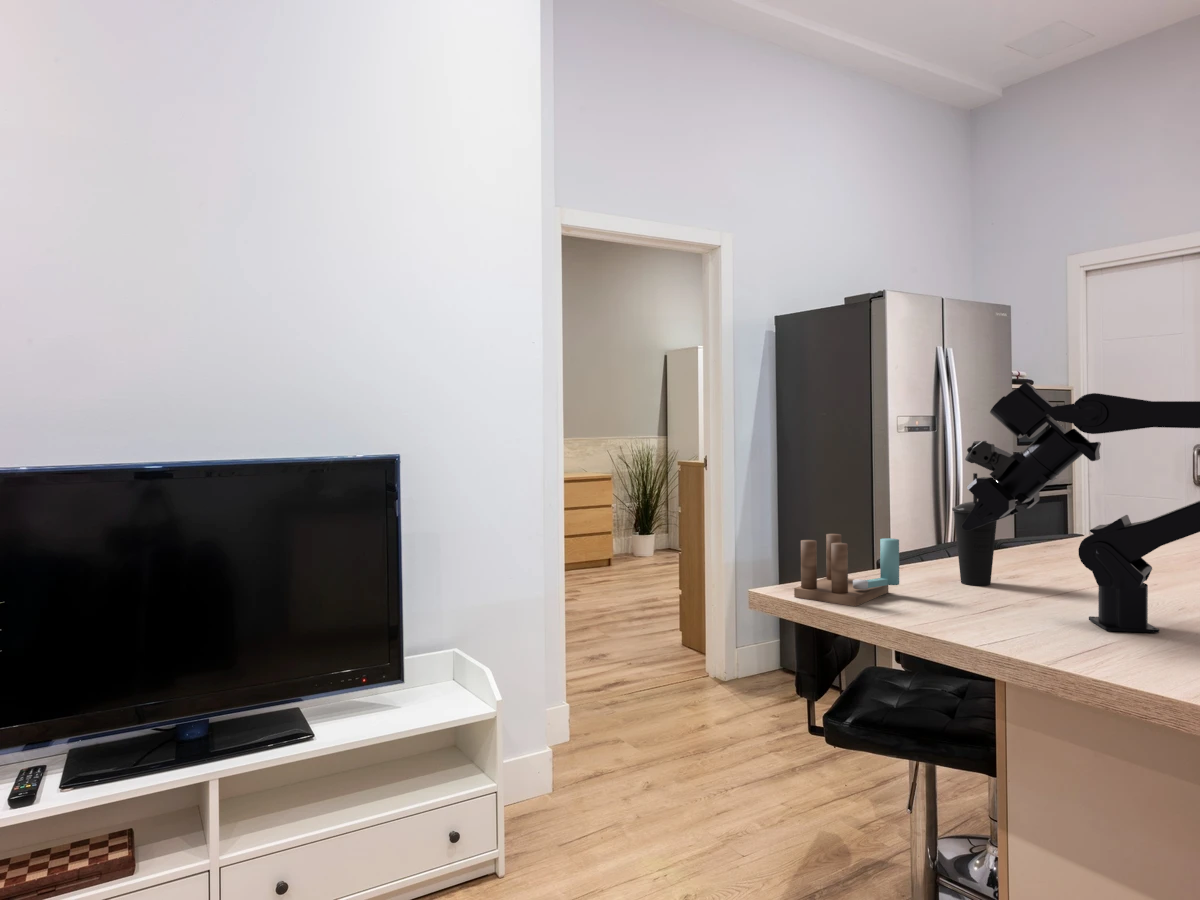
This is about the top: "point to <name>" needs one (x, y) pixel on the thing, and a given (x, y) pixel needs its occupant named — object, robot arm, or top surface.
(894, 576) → the hinged leg
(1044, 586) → the top surface
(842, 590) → the brown peg stand
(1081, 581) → the top surface
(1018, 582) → the top surface
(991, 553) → the drinking cup
